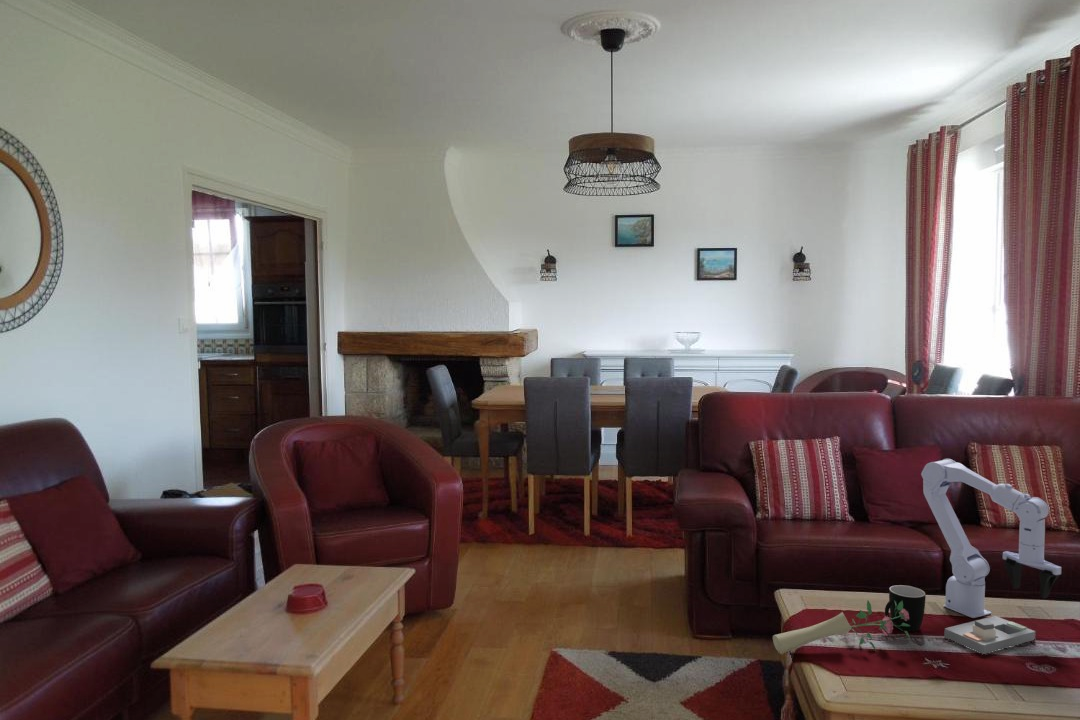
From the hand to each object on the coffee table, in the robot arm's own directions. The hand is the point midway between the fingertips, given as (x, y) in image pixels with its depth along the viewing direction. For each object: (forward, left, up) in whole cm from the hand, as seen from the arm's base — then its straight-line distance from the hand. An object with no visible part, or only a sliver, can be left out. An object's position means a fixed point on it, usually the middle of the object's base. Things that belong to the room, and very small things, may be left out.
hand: (1030, 592), depth 200 cm
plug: (+1, -20, -11) cm, 22 cm away
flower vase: (-12, -55, -11) cm, 58 cm away
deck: (-1, -15, -10) cm, 18 cm away
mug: (-15, -30, -11) cm, 35 cm away
